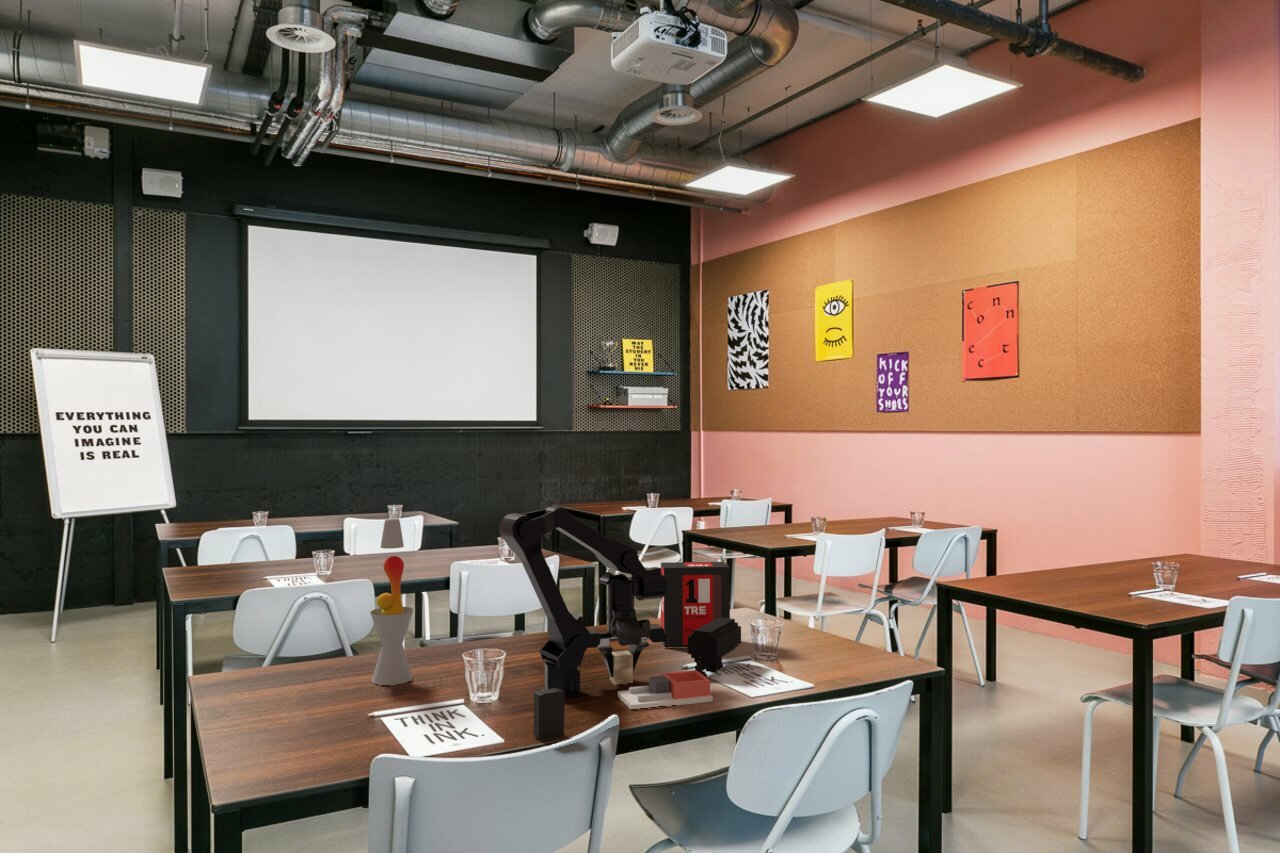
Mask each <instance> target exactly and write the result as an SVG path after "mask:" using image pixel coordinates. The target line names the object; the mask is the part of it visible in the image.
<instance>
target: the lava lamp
mask: <svg viewBox="0 0 1280 853" xmlns="http://www.w3.org/2000/svg"><path fill="white" fill-rule="evenodd" d="M402 532H403V530H402V526H401V520H400V519H399V518H397V517H393V518H391V517H390V518H386V519H385V520H384V523H383V530H382V534H381V535H382V536H381V542H380V549H389V550H390V549H399V548H400V549H401V548H404V547H405V544H404V537H403V533H402ZM382 566H383V567H382V568H383V570H384V573H385V574H386V576H387V578H388V581H389V584H390V587H391V588H390V589H391V593H389V592H384V593H381V594H380V595H378V597H377V600H376V604H377V606H378V607H379V608H376V609H373V610H371V611H369V612H370V616H371V618H372V619H371V620H372V622H373V624H374V627H375V630H376V633H377V636H378V638H379V642H380V644H381V648H380V652H379V655H378V658H377V661H376V665H375V669H374V672H373V675H372V678H371V681H372V682H371V683H372V684H373V683H374V684H373V685H375V684H379V685H378V686H382V685H390V686H398V685H397V684H399V685H403V684H407V683H409V682H411V681H412V680H413V679H414V678H413V677H414V676H413V673H412V670H411V668H410V664H409V660H408V657H407V655H406V651H405V648H404V645H403V644H404V641H405V638H406V634H407V632H408V629H409V626H410V623H411V620H412V617H413V613H414V612H415V610H414V608H413V607H409V606H404V605H403V602H402V596H401V583H402V577H403V571H404V568H405V563H404V560H403V559H402V558H401V557H400V556H395V555H394V556H393V555H392V556H390V557H387V558H386V559H385V560H384V562H383V565H382ZM408 681H409V682H408ZM406 682H407V683H406ZM402 683H403V684H402Z"/></svg>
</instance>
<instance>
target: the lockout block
mask: <svg viewBox="0 0 1280 853" xmlns="http://www.w3.org/2000/svg"><path fill="white" fill-rule="evenodd" d="M612 661H613V677H611V676H610V675H609V680H611V681H610V682H611V683H612V684H613V685H614V686H619V684H623V685H629V684H628V683H634V672H633V655H632V654H631V653H630V652H629V650H621V651H620V650H619V651H612Z"/></svg>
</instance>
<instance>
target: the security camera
mask: <svg viewBox="0 0 1280 853" xmlns="http://www.w3.org/2000/svg"><path fill="white" fill-rule="evenodd" d="M740 644H742V626H740V625H739V623H738V622H736V619H735V618H731V617H730V618H721V617H719V618H717V619H715V620H713V621H711V622H709V623H707V624H706V625H704V626H702V627H700V628H698V629H696V630H694V632H693V633H691V635H690V636H688V648H687V655H690V658H691V659H693V660H694V661H693V662H694V663H695V665H694V670H697V671H698V672H700V673H701V674H702V675H704V676H705V677H706V678H708V674H707V672H709V671H710V673H717V672H718V671H720V670H721V669H722V668H724V663H723V657H724V656H725V655H727V654H729V653H731V652H733V651H734V650H735V649H736V648H737V647H739V645H740Z"/></svg>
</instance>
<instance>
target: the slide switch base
mask: <svg viewBox="0 0 1280 853" xmlns="http://www.w3.org/2000/svg"><path fill="white" fill-rule="evenodd" d="M661 676H664V677H665V678H667V679H668V680H669V681H670V692H666V693H656V694H651V693H650V692H649V685H641V686H630V687H629V688H628V689H627V690H619V691H617V698H619V699H620V701H621V702H622V701H623V702H624V703H625V704H626V705H627V706H628V707H629V708H630V709H638V710H640V709H639V708H648V707H657V708H659V707H658V706H666V707H673V706H672V705H676V706H682V705H683V706H684V705H693V704H702V703H710V702H712V703H713V701H714V700H713V698H714V697H713V695H711V680H710V679H709V678H708V677H707V678H706V677H705V676H704V675H702V674H701V673H700V672H698V671H697V670H695V669H694V670H693V669H692V670H684V671H673V672H664V673H661ZM623 702H622V703H623ZM624 703H623V704H624ZM625 704H624V705H625ZM626 705H625V706H626ZM627 706H626V707H627ZM628 707H627V708H628ZM629 708H628V709H629ZM630 709H629V710H630ZM648 709H649V708H648Z"/></svg>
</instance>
